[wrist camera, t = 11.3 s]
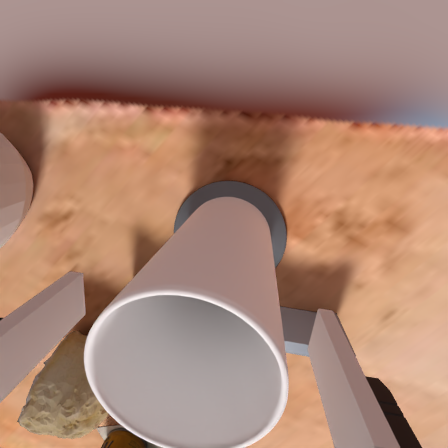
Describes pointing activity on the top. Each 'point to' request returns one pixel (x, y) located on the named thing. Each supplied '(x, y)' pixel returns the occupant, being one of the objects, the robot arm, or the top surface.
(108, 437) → the condiment
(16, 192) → the soap bottle
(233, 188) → the slate coaster
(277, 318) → the cup
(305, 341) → the grey barrier wall
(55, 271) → the top surface
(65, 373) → the beige rough lump
